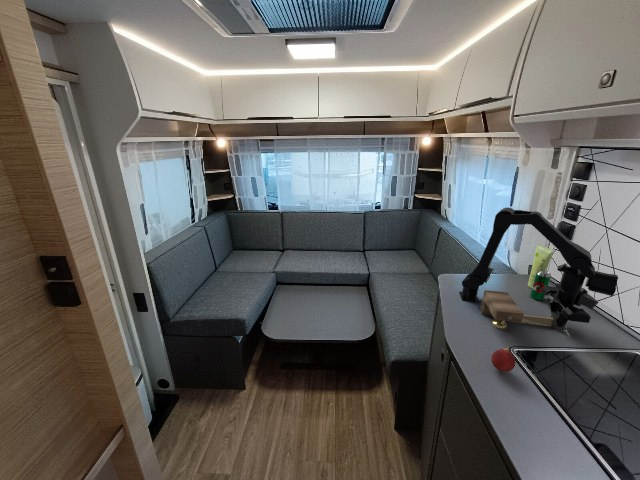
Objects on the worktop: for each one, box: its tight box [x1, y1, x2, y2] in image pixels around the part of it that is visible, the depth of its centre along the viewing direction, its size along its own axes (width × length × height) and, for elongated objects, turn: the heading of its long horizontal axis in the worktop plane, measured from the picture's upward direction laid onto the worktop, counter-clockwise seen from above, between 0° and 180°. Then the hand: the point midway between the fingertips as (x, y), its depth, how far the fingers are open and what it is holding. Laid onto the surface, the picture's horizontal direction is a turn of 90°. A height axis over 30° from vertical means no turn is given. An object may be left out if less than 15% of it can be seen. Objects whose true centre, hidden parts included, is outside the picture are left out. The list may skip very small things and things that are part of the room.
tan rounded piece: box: [491, 319, 508, 330], centre depth 105 cm, size 4×4×2 cm
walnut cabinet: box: [479, 289, 525, 324], centre depth 105 cm, size 15×8×9 cm, turn 168°
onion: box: [490, 348, 516, 373], centre depth 84 cm, size 6×6×8 cm
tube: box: [527, 243, 555, 289], centre depth 128 cm, size 6×5×20 cm
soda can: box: [529, 270, 552, 301], centre depth 120 cm, size 5×5×12 cm
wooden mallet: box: [520, 312, 568, 330], centre depth 105 cm, size 3×17×5 cm, turn 78°
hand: (557, 323), depth 104 cm, fingers closed on wooden mallet, 3 cm apart
